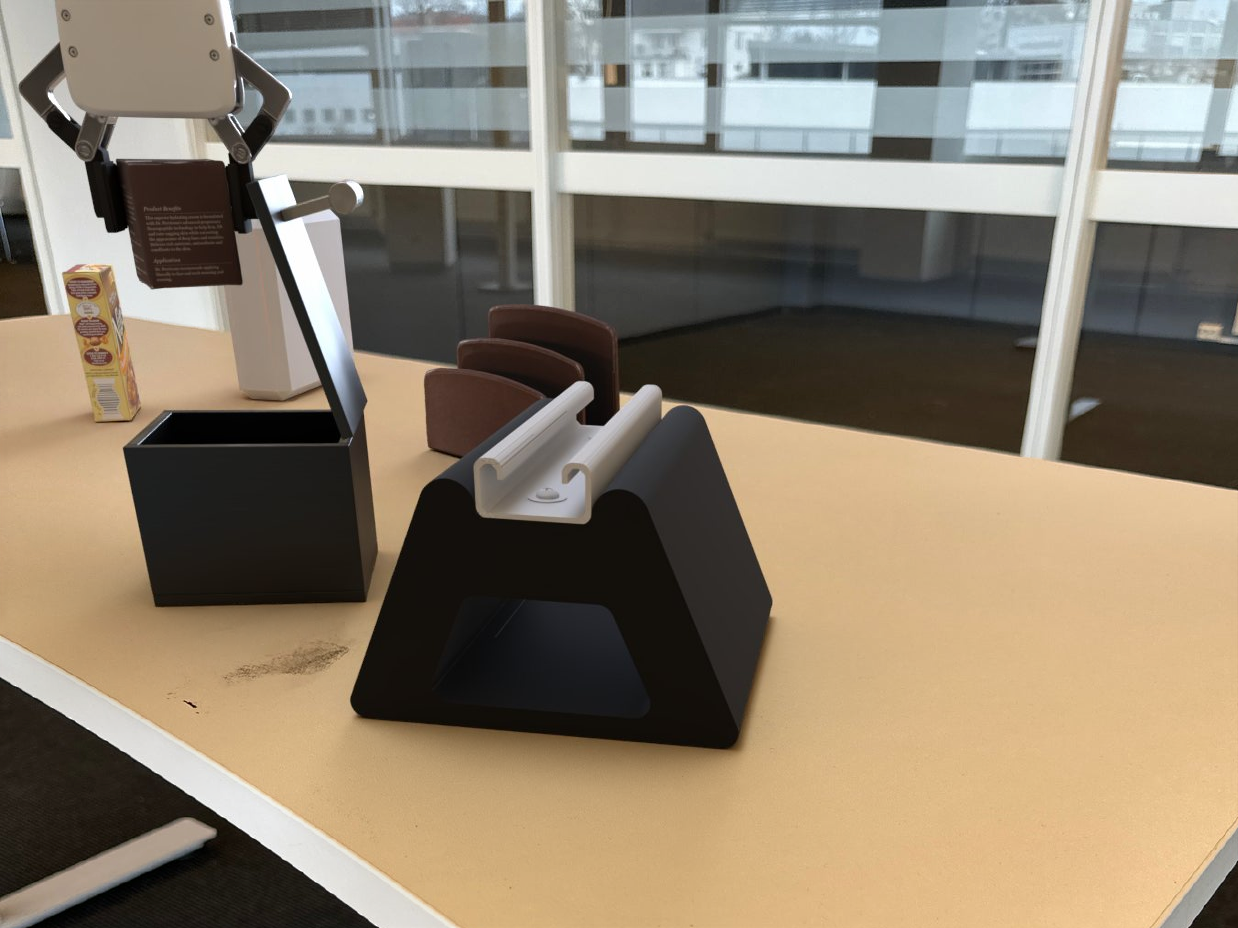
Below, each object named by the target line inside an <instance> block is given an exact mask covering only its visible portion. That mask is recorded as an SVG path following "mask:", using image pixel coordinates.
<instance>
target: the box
mask: <svg viewBox="0 0 1238 928" xmlns="http://www.w3.org/2000/svg"><path fill="white" fill-rule="evenodd" d="M115 164H116V165H117V170H118V176H119V181H120V186H121V191H122V197H123V202H124V207H125V212H126V218H127V223H128V228H127V230H128V234H129V239H130V246H131V250H132V254H133V255H132V256H133V261H134V268H135V272H136V276H137V278H138V281H139V282H140V283H142V284H144V285H146V286H147V287H148V288H149V289H150V290H152V291H153V290H160V289H176V288H177V289H179V288H181V289H182V288H199V287H200V288H201V287H202V288H203V287H221V286H222V287H224V285H242V284H243V280H242V273H241V266H240V260H239V254H238V248H237V242H236V236H235V229H234V223H233V216H232V210H231V203H230V195H229V187H228V181H227V176H226V169H225V166H226V164H225V162H224V161H223V160H217V159H216V160H215V159H209V158H186V159H185V158H115Z"/></svg>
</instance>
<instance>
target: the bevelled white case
mask: <svg viewBox="0 0 1238 928" xmlns="http://www.w3.org/2000/svg"><path fill="white" fill-rule="evenodd" d="M301 218H302V220H303V223H304V226H305V229H306V232H307V234H308V237H309V240H310V243H311V245H312V248H313V251H314V254H315V256H316V259H317V262H318V265H319V267H320V270H321V273H322V276H323V279H324V281H325V284H326V287H327V290H328V292H329V295H330V298H331V301H332V303H333V306H334V309H335V312H336V315H337V317H338V320H339V323H340V326H341V328H342V331H343V334H344V337H345V339H346V342H347V345H348V348H349V350H350V353H351V356H352V359H353V362H354V364H355V365H356V362H355V360H356V359H355V352H354V344H353V343H354V342H353V333H352V324H351V323H352V322H351V315H350V304H349V295H348V285H347V277H346V267H345V258H344V248H343V240H342V230H341V229H342V228H341V220H340V218H339V216H338V215H336V214H335V212H333V211H332V210H331V209H328V210H324V211H321V212H317V213H314V214H311V215H307V216H304V217H301ZM251 222H252V231H251V232H249V233H247V234H238V232H235V236H236V242H237V248H238V254H239V260H240V266H241V273H242V280H243V284H242V285H224V286H223V289H224V294H225V303H226V310H227V317H228V321H229V328H230V335H231V342H232V348H233V349H232V350H233V354H234V355H233V356H234V362H235V368H236V373H237V375H236V376H237V382H238V388H239V389H240V390H241V391H242V392H243V393H244V394H245V395H247V397H249V398H250V399H251V400H264V401H282V402H283V401H286V400H288V399H291V398H293V397H296V396H299V395H301V394H303V393H306V392H309V391H310V390H313V389H316V388H319V387H322V385H321V382H320V379H319V377H318V374H317V371H316V369H315V366H314V363H313V361H312V358H311V356H310V353H309V350H308V348H307V345H306V342H305V340H304V337H303V334H302V332H301V329H300V326H299V324H298V321H297V319H296V316H295V313H294V311H293V308H292V305H291V303H290V300H289V297H288V295H287V292H286V289H285V287H284V284H283V282H282V279H281V276H280V274H279V271H278V268H277V266H276V263H275V260H274V258H273V255H272V253H271V250H270V247H269V245H268V242H267V239H266V237H265V234H264V231H263V229H262V226H261V223H260V221H259V219H251Z"/></svg>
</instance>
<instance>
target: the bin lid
mask: <svg viewBox="0 0 1238 928" xmlns="http://www.w3.org/2000/svg"><path fill="white" fill-rule="evenodd" d="M246 187H247V189H248V192H249V194H250V197H251V200H252V202H253V205H254V208H255V210H256V213H257V216H258V218H259V221H260V223H261V226H262V229H263V231H264V234H265V237H266V239H267V242H268V245H269V247H270V250H271V253H272V255H273V258H274V260H275V263H276V266H277V268H278V271H279V274H280V276H281V279H282V282H283V284H284V287H285V289H286V292H287V295H288V297H289V300H290V303H291V305H292V308H293V311H294V313H295V316H296V319H297V321H298V324H299V326H300V329H301V332H302V334H303V337H304V340H305V342H306V345H307V348H308V350H309V353H310V356H311V358H312V361H313V363H314V366H315V369H316V371H317V374H318V377H319V379H320V382H321V387H322V391H323V392H324V395H325V398H326V400H327V403H328V405H329V409H331V411H332V414H333V416H334V419H335V422H336V424H337V427H338V429H339V432H340V435H341V437H342V439H343V440H344V439H348V438H351V437H353V436H354V434H355V431H356V429H357V426H358V424H359V421H360V419H361V416H362V414H363V411H365V409H366V406H367V403H368V397H367V395H366V393H365V390H364V389H365V388H364V387H363V384H362V381H361V379H360V375H359V373H358V370H357V367H356V363H355V364H354V362H353V359H352V356H351V353H350V350H349V348H348V345H347V342H346V339H345V337H344V334H343V331H342V328H341V326H340V323H339V320H338V317H337V315H336V312H335V309H334V306H333V303H332V301H331V298H330V295H329V292H328V290H327V287H326V284H325V281H324V279H323V276H322V273H321V270H320V267H319V265H318V262H317V259H316V256H315V254H314V251H313V248H312V245H311V243H310V240H309V237H308V234H307V232H306V229H305V226H304V223H303V220H302V218H301V217H304V216H307V215H311V214H314V213H317V212H321V211H324V210H328V209H330V210H331V209H333V210H334V211H335V212H336V213H337V214H341V215H349V214H352V213H353V212H354V211H356V210H357V209H359V208H360V207H361V205H362V204H363V201H364V192H363V188H362V187H361V185H360V184H359V183H358V182H357V181H355V180H353V179H350V178H346V179H343V180H341V181H338V182H335V183H334V184H333V185H332V186H331V187H330V188H329V191H328V194H326V195H322V196H319V197H316V198H313V199H308V200H306V201H303V202H298V203H297V202H296V198H295V196H294V193H293V190H292V188H291V185H290V182H289V180H288V176H287V174H286V173H282V174H279V175H274V176H270V177H266V178H262V179H257V180H255V181H254V182H251V183H247V184H246Z"/></svg>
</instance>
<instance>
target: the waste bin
mask: <svg viewBox="0 0 1238 928" xmlns="http://www.w3.org/2000/svg"><path fill="white" fill-rule="evenodd" d="M364 411H365V410H364ZM364 411H363V414H362V416H361V419H360V421H359V424H358V426H357V429H356V431H355V434H354V436H353V437H351V438H348V439H344V440H343V439H342V437H341V435H340V432H339V429H338V427H337V424H336V422H335V419H334V416H333V414H332V411H331V408H329V409H328V408H327V409H324V408H323V409H164V410H163V411H161V412H160V413H159V414H158V415H157V416H156V417H155V418H154V419H153V420H151V421H150V422H149V423H148V424H147V425H146V426H145V427H143V429H142V430H141V431H140V432H138V434H136V435H135V436H134V437H132V439H130V441H128V442H127V443H126V444H125V445H124V446H123V447H122V452H123V458H124V462H125V466H126V473H127V476H128V481H129V487H130V491H131V497H132V502H133V506H134V511H135V515H136V519H137V520H136V521H137V525H138V530H139V535H140V541H141V546H142V551H143V556H144V559H145V565H146V569H147V575H148V579H149V585H150V589H151V594H152V600H153V603H154V606H155V607H178V606H179V607H180V606H181V607H182V606H185V607H187V606H188V607H189V606H225V605H226V606H227V605H230V606H231V605H269V604H272V605H273V604H276V605H277V604H312V603H313V604H316V603H317V604H318V603H321V604H322V603H359V602H360V603H361V602H364V603H365V602H367V598H368V594H369V590H370V586H371V582H372V579H373V578H372V576H373V573H374V569H375V566H376V561H377V556H378V552H379V546H378V545H379V544H378V537H377V526H376V518H375V508H374V507H375V506H374V499H373V497H374V496H373V489H372V488H373V487H372V478H371V470H370V468H371V467H370V458H369V449H368V439H367V430H366V419H365V412H364Z"/></svg>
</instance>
